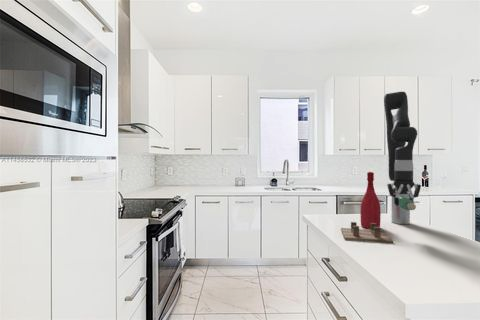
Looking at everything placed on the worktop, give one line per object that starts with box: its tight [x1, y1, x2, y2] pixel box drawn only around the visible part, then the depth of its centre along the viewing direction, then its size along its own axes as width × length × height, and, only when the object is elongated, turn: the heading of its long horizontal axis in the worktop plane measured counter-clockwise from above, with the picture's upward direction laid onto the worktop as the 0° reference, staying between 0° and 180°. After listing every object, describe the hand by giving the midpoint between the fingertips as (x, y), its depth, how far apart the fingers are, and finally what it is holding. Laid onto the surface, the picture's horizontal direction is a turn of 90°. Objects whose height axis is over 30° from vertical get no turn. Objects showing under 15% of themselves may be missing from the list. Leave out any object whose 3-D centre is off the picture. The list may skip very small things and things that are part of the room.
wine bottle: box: [360, 171, 382, 230], centre depth 149 cm, size 10×10×30 cm
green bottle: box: [398, 196, 417, 211], centre depth 126 cm, size 17×5×5 cm, turn 165°
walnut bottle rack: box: [340, 221, 394, 244], centre depth 131 cm, size 18×20×6 cm
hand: (403, 205), depth 128 cm, fingers closed on green bottle, 5 cm apart
